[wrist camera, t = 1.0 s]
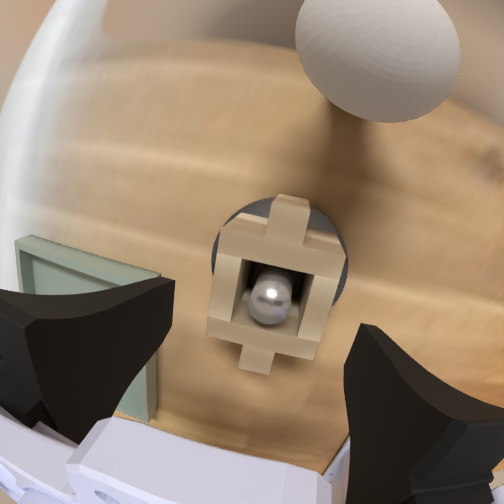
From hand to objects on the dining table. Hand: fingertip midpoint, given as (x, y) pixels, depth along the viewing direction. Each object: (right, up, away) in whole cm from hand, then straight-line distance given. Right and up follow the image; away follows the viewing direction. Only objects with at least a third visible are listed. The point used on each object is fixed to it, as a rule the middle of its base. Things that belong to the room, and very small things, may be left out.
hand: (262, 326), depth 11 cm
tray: (-14, -3, +11) cm, 18 cm away
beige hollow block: (+1, +2, +7) cm, 7 cm away
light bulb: (+5, +12, +4) cm, 13 cm away
